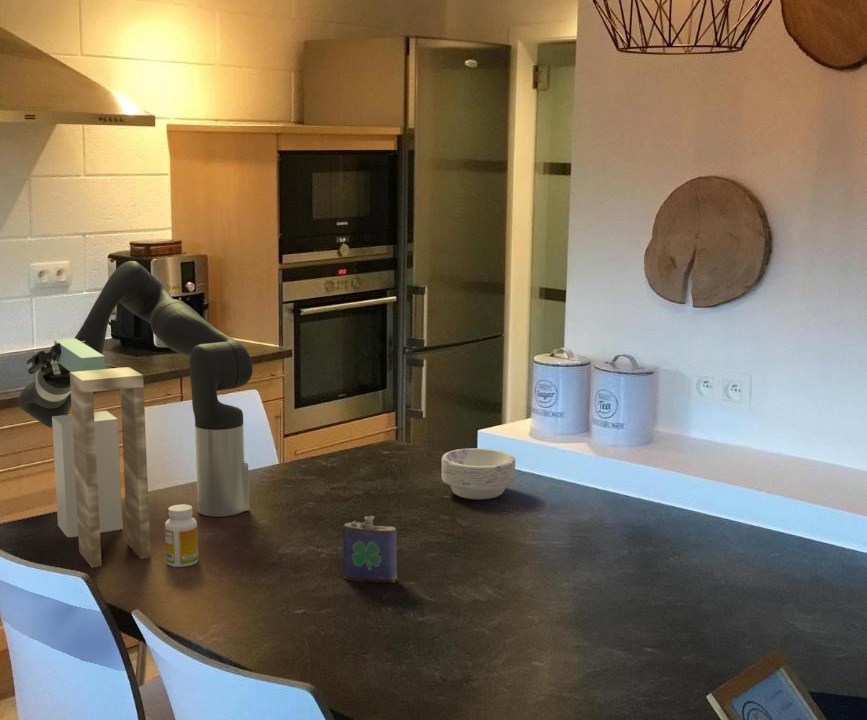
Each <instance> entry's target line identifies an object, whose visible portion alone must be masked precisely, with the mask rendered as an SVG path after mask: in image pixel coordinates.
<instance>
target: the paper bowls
mask: <svg viewBox="0 0 867 720" xmlns="http://www.w3.org/2000/svg"><path fill="white" fill-rule="evenodd" d="M515 478H516V458H515V457H514V456H513V455H512V454H510V453H508V452H504V451H502V450H497V449H492V448H478V447H477V448H461V449H459V448H458V449H454V450H451V451H450V450H449V451H448V452H446V453H444V454H442V457H441V480H442V481H443V483H445V484H446V485H449V486H450V488H451V490H452V492H453V493H454V495H456V496H458V497H460V498H464V499H467V500H481V501H482V500H491V499H495V498H498V497H500V496H502V494H503V493H504V491H505V490H506V487H508V486H511V485H512V484H514V482H515Z"/></svg>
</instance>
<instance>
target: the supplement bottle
mask: <svg viewBox="0 0 867 720" xmlns="http://www.w3.org/2000/svg"><path fill="white" fill-rule="evenodd" d="M167 511H168V514H167V515H168V517H169V518H168V519H167V520H166V521H165V522H164V536H165V537H164V539H165V543H164V544H165V560H166V561H165V562H166V565H168V566H169V567H173V568H185V567H190V566H193V565H196V564H197V563H198V561H199V540H198V538H199V537H198V535H199V534H198V522H197V520H196V518H194V517H192V516H193V514H194V512H193V506H192V505H190V504H185V503H183V504H175V505H171V506H169V507H168V509H167Z"/></svg>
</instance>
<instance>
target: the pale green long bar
mask: <svg viewBox="0 0 867 720" xmlns="http://www.w3.org/2000/svg"><path fill="white" fill-rule="evenodd" d="M53 341H54V344H53V345H55V344H56V343H60V346H61V355H60V357H59V360H57V362H58V363H59V364H61V365H62V366H63V367H65V368H66V369H67V370H69V371H70V372H77V371H89V370H100V369H106V359H105V357H106V356H105V355H103V353H102V354H100V353H99V352H97V351H95V350H94V349H92V348H90V347H89V346H87V345H85V344H84V343H82V342H81V341H79V340H77V339H74V338H64V339H55V340H53Z"/></svg>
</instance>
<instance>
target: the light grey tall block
mask: <svg viewBox="0 0 867 720" xmlns="http://www.w3.org/2000/svg"><path fill="white" fill-rule="evenodd" d="M118 420H119V418H117V417H116V416H114V415H113V414H111V413H110V412H109V411H107V410H102V411H101V410H100V411H94V423H95V444H96V464H97V484H98V504H99V524H100V534H101V533H106V532H107V533H108V532H113V530H114V531H121V530H123V529H124V526H123V508H122V507H123V505H122V504H123V503H122V483H121V481H122V480H121V462H120V461H121V460H120V441H119V440H120V439H119V436H120V435H119V421H118ZM52 427H53V428H52V441H53V461H54V477H55V494H56V511H57V512H56V514H57V516H56V517H57V527H58V528H59V529H60V530H61V531H62V533H63V534H64V535H65V536H66V537H68V538H69V537H70V538H77V537H79V536H78V517H77V498H76V479H75V460H74V441H73V422H72V414H68V415H62V416H52ZM120 529H121V530H120ZM68 538H67V539H68Z"/></svg>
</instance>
